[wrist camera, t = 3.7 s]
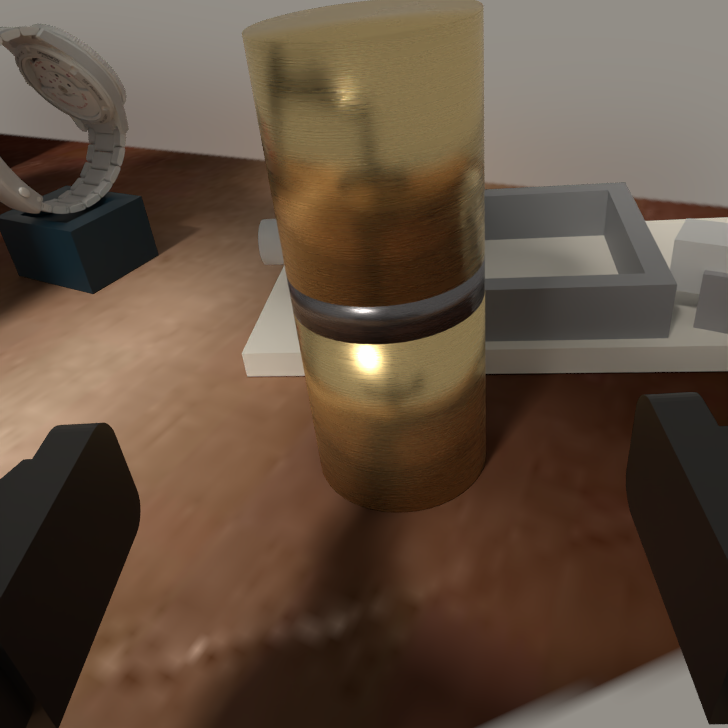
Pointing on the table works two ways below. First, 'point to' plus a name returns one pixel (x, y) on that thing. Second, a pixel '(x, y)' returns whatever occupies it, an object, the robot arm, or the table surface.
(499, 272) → the stand
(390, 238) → the cylinder
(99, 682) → the table surface
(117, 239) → the watch
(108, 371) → the table surface
